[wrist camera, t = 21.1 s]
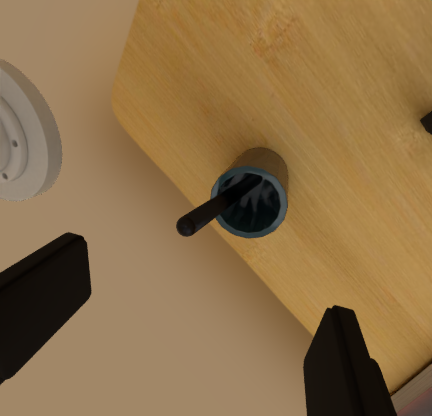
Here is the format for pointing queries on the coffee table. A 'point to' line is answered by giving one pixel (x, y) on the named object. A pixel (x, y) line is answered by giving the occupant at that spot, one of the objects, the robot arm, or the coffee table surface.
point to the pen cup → (255, 194)
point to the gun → (427, 122)
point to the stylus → (215, 206)
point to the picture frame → (415, 396)
